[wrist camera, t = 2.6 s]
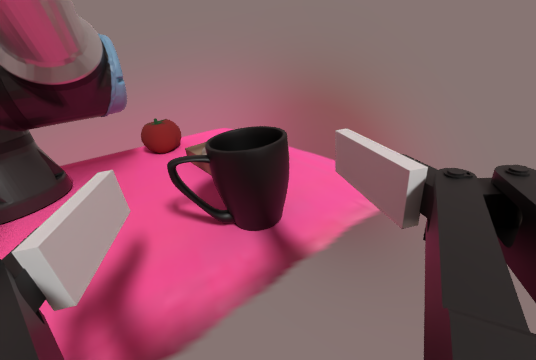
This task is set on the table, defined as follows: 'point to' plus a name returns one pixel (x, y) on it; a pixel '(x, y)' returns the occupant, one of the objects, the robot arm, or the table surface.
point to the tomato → (161, 136)
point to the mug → (244, 175)
